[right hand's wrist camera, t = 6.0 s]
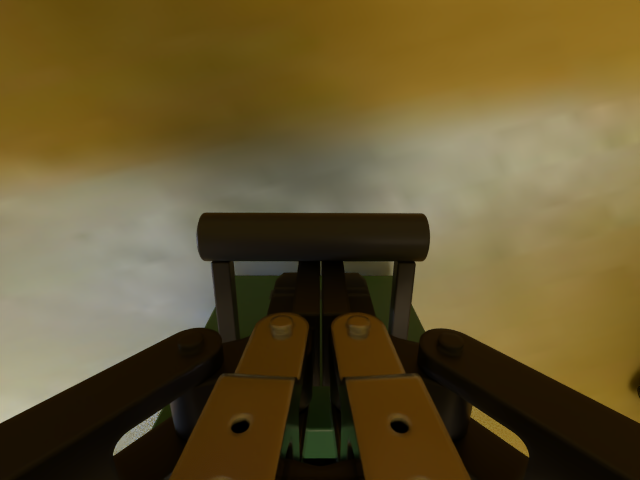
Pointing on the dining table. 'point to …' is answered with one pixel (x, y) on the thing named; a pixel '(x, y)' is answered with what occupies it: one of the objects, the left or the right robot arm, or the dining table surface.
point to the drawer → (320, 245)
